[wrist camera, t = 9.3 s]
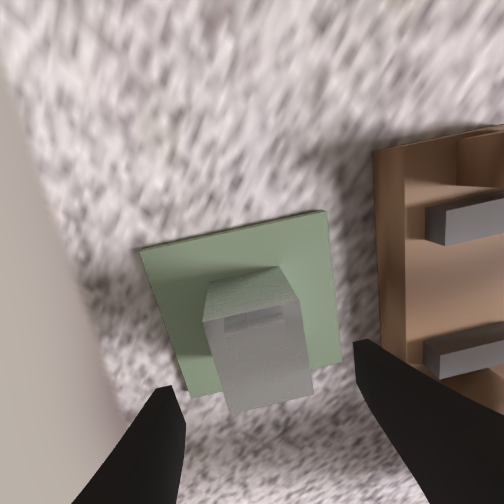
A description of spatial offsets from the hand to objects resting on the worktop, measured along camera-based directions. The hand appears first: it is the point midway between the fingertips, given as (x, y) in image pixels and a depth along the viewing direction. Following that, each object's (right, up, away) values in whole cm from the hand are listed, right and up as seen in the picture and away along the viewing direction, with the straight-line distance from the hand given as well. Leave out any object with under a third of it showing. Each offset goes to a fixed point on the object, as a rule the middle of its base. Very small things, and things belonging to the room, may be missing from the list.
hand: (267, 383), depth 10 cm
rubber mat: (-1, +2, +5) cm, 6 cm away
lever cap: (-1, +2, +5) cm, 5 cm away
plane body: (+11, +4, +6) cm, 13 cm away
